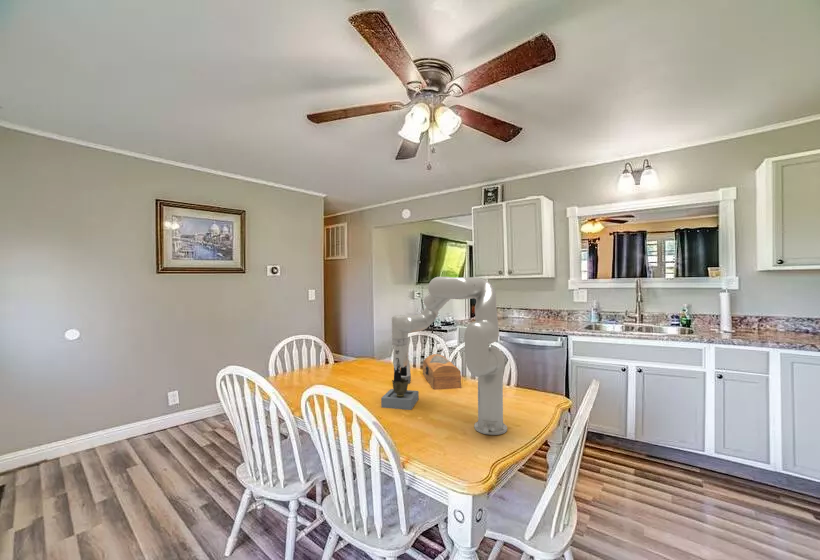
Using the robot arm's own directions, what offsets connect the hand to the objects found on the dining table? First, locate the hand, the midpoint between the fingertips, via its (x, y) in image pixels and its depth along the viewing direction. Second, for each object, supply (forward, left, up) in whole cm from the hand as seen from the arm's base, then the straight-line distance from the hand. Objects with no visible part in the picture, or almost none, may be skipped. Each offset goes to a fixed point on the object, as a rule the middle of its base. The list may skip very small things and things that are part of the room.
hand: (400, 378), depth 173 cm
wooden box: (+39, -12, -13) cm, 42 cm away
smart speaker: (+31, +8, -12) cm, 34 cm away
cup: (0, 0, -9) cm, 9 cm away
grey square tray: (0, 0, -13) cm, 13 cm away
